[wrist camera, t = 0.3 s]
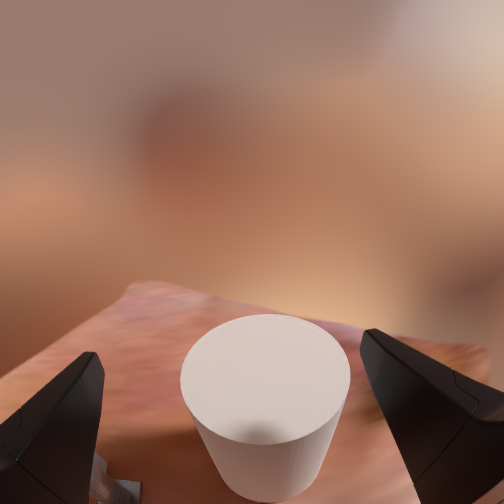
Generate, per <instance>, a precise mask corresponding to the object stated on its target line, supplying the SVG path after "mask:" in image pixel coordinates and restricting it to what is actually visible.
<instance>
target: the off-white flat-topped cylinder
mask: <svg viewBox="0 0 504 504" xmlns="http://www.w3.org/2000/svg"><path fill="white" fill-rule="evenodd" d="M180 382H181V391H182V395H183V398H184V400H185V403H186V405H187V407H188V410H189V412H190V414H191V416H192V418H193V421H194V423H195V425H196V427H197V429H198V431H199V434H200V436H201V438H202V440H203V442H204V444H205V446H206V448H207V450H208V452H209V454H210V456H211V458H212V460H213V462H214V464H215V466H216V468H217V470H218V471H219V473H220V475H221V477H222V479H223V480H224V482H225V483H226V485H227V486H228V487H229V488H230V489H231V490H233V491H234V492H235V493H237V494H238V495H240V496H242V497H244V498H246V499H249V500H252V501H256V502H264V503H273V502H280V501H284V500H288V499H290V498H293V497H295V496H297V495H299V494H300V493H302V492H303V491H304V490H306V489H307V488H308V487H309V486H310V485H311V484H312V483H313V481H314V480H315V478H316V477H317V475H318V472H319V470H320V468H321V465H322V463H323V460H324V458H325V455H326V453H327V450H328V448H329V445H330V442H331V440H332V437H333V434H334V431H335V429H336V426H337V423H338V420H339V417H340V414H341V411H342V408H343V405H344V402H345V399H346V396H347V393H348V389H349V385H350V367H349V363H348V360H347V357H346V355H345V352H344V351H343V349H342V347H341V346H340V345H339V343H338V342H337V341H336V340H335V339H334V338H333V337H332V336H331V335H330V334H329V333H327V332H326V331H325V330H323V329H322V328H320V327H318V326H317V325H315V324H313V323H310V322H308V321H305V320H302V319H299V318H296V317H291V316H286V315H277V314H261V315H251V316H246V317H241V318H238V319H234V320H231V321H229V322H226V323H224V324H222V325H219V326H218V327H216V328H214V329H212V330H211V331H209V332H208V333H206V334H205V335H204V336H203V337H202V338H200V339H199V340H198V341H197V342H196V343H195V345H194V346H193V347H192V348H191V350H190V351H189V353H188V354H187V356H186V358H185V360H184V363H183V366H182V370H181V378H180Z"/></svg>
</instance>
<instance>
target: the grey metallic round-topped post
mask: <svg viewBox="0 0 504 504" xmlns="http://www.w3.org/2000/svg"><path fill="white" fill-rule="evenodd" d="M141 487H142V483H141V482H137V481H128V480H121V479H114V478H111V477H110V476H109V475H107V474H106V473H105V472H104V471H102V470H101V469H100V468H99V467H97V466H96V465H95V464H94V463H93V466H92V474H91V482H90V491H89V496H90V497H92V498H93V499H95V500H97V504H140V500H141Z"/></svg>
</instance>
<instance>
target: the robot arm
mask: <svg viewBox="0 0 504 504" xmlns="http://www.w3.org/2000/svg"><path fill="white" fill-rule="evenodd" d="M360 356H361V358H362V361H363V364H364V367H365V370H366V373H367V376H368V379H369V382H370V385H371V388H372V390H373V393H374V395H375V397H376V399H377V401H378V404H379V406H380V408H381V410H382V412H383V415H384V417H385V419H386V421H387V423H388V426H389V428H390V430H391V432H392V435H393V437H394V439H395V442H396V444H397V446H398V448H399V451H400V453H401V455H402V458H403V460H404V463H405V465H406V467H407V470H408V472H409V475H410V477H411V479H412V482H413V483H414V484H413V485H414V487H415V490H416V492H417V495H418V497H419V500H420V502H421V504H504V392H501V391H499V390H497V389H494V388H492V387H489V386H487V385H484V384H482V383H480V382H477V381H475V380H473V379H471V378H469V377H467V376H465V375H463V374H461V373H459V372H457V371H455V370H452V369H451V368H449V367H447V366H446V365H444V364H442V363H440V362H438V361H436V360H434V359H432V358H430V357H429V356H427V355H425V354H423V353H421V352H419V351H417V350H415V349H413V348H412V347H410V346H408V345H406V344H404V343H402V342H400V341H398V340H397V339H395V338H393V337H391V336H389V335H387V334H385V333H384V332H382V331H380V330H378V329H375V328H373V329H368V330H365V331H364V333H363V336H362V341H361V345H360ZM104 377H105V373H104V369H103V366H102V364H101V362H100V359H99V357H98V355H97V353H96V352H84V353H83V354H81V355H80V356H79V357H78V358H77V359H75V360H74V361H73V362H72V363H71V364H70V365H68V366H67V367H66V368H65V369H64V370H63V371H61V372H60V373H59V374H58V375H57V376H56V377H54V378H53V379H52V380H51V381H50V382H49V383H48V384H46V385H45V386H44V387H43V388H42V389H41V390H40V391H38V392H37V393H36V394H35V395H34V396H33V397H32V398H30V399H29V400H28V401H27V402H26V403H25V404H24V405H23V406H21V409H20V408H19V409H18V410H17V411H16V412H15V413H14V414H12V415H11V416H10V417H9V418H8V419H7V420H5V421H4V422H3V423H2V424H0V504H88V502H89V491H90V482H91V474H92V466H93V459H94V452H95V446H96V439H97V434H98V428H99V422H100V417H101V409H102V397H103V386H104Z"/></svg>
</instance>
